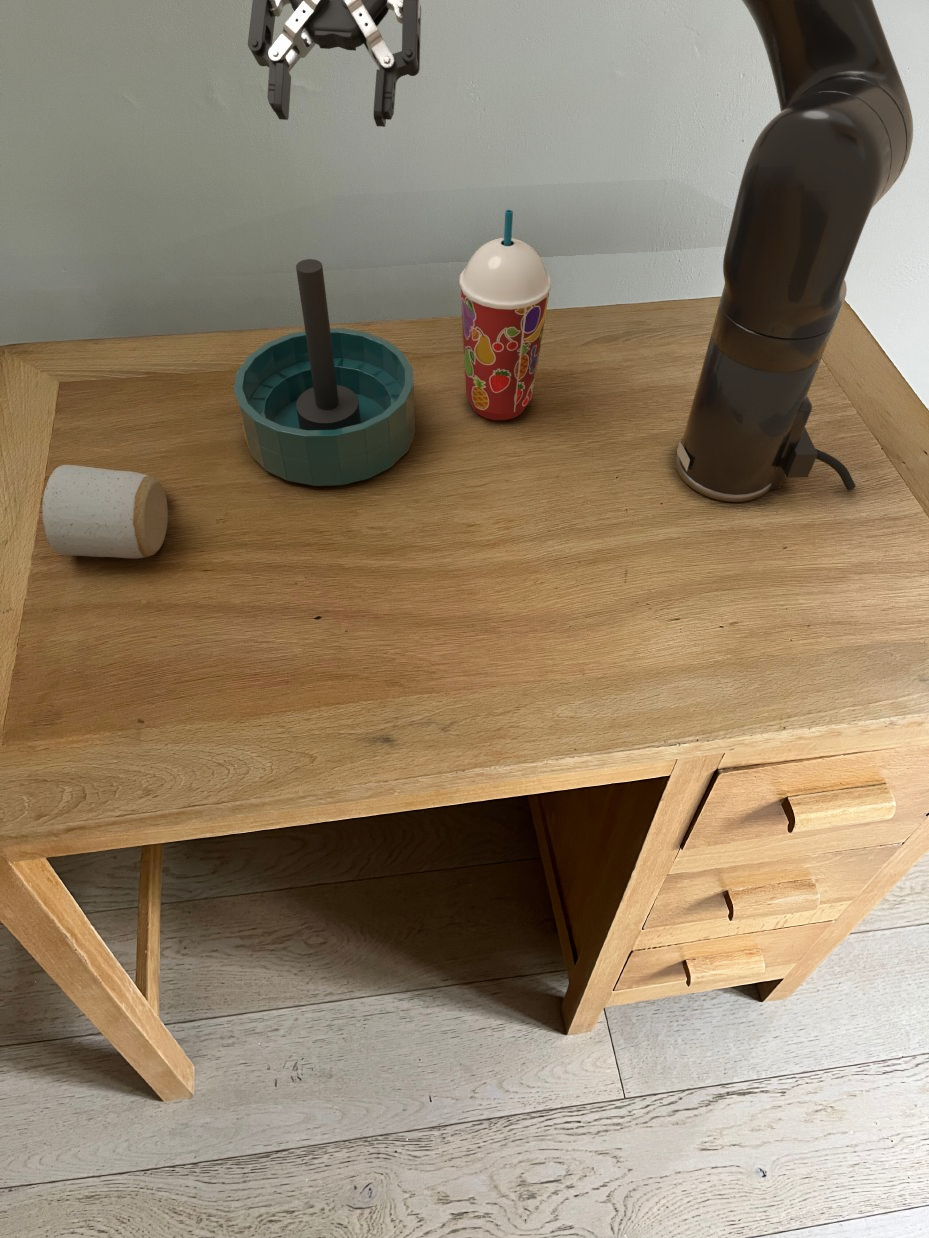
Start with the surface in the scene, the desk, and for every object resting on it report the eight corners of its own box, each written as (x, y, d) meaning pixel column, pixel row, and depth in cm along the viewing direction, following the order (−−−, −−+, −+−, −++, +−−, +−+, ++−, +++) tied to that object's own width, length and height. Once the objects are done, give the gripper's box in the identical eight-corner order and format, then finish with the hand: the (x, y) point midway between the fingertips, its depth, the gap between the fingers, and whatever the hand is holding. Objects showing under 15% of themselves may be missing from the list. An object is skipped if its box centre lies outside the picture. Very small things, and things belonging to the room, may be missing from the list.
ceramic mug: (157, 576, 73) (132, 510, 67) (62, 573, 73) (28, 507, 67) (187, 492, 80) (166, 426, 74) (99, 490, 80) (71, 423, 74)
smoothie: (555, 411, 88) (578, 218, 72) (488, 440, 85) (497, 246, 69) (507, 370, 92) (519, 180, 77) (442, 396, 89) (441, 204, 74)
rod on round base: (373, 428, 85) (359, 266, 72) (326, 456, 82) (303, 293, 69) (334, 401, 88) (314, 240, 74) (287, 427, 85) (258, 265, 72)
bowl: (413, 380, 91) (411, 326, 86) (417, 488, 81) (415, 433, 75) (255, 384, 90) (243, 329, 85) (238, 493, 80) (224, 438, 75)
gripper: (246, -125, 68) (233, 92, 70) (424, -116, 67) (406, 103, 69) (273, -60, 75) (261, 134, 77) (434, -52, 75) (418, 144, 76)
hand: (330, 119), depth 73 cm, fingers open, 8 cm apart
